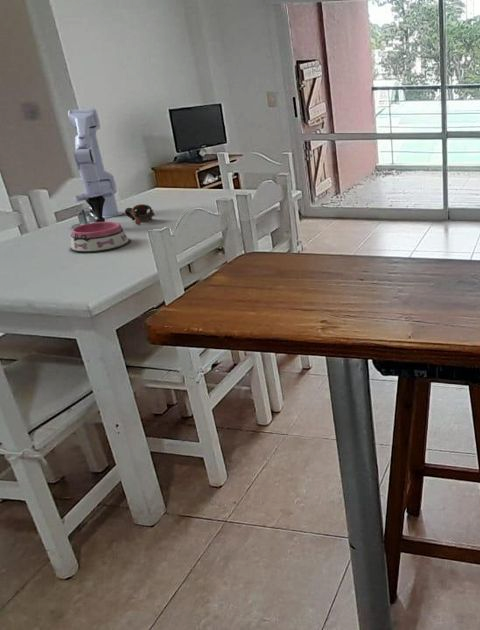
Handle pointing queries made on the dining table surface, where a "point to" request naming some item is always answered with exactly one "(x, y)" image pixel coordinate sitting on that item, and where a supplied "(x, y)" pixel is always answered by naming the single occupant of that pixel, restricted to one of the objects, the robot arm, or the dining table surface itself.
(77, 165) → the robot arm
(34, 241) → the dining table surface
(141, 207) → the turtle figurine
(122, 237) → the dog bowl
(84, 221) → the tap bracket
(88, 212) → the tap lever
